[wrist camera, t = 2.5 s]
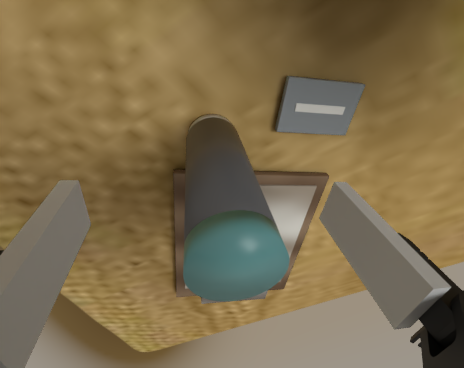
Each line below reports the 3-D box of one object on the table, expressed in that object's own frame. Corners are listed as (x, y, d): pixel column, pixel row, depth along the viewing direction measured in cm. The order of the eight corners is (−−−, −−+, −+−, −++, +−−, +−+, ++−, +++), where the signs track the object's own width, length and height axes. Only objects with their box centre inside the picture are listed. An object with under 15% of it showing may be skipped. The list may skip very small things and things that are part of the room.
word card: (287, 75, 17) (289, 77, 16) (361, 83, 18) (366, 85, 18) (274, 129, 19) (277, 132, 19) (341, 132, 20) (345, 135, 20)
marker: (186, 110, 17) (183, 235, 7) (240, 114, 18) (302, 232, 8) (186, 159, 20) (183, 305, 10) (233, 160, 20) (276, 297, 10)
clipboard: (173, 169, 20) (172, 181, 18) (326, 172, 22) (335, 183, 21) (176, 292, 30) (176, 306, 28) (282, 284, 33) (286, 297, 31)
